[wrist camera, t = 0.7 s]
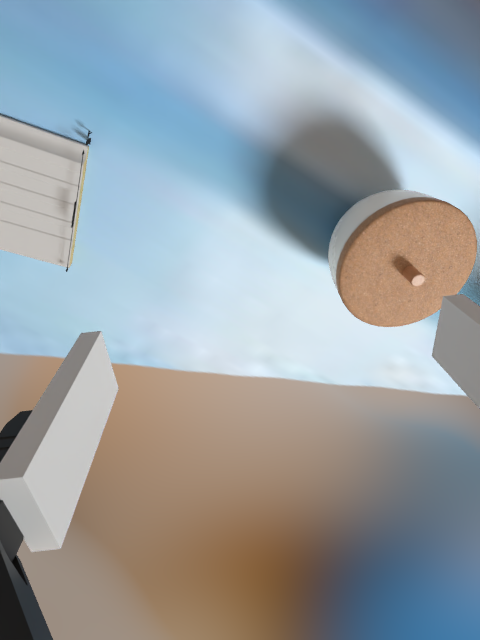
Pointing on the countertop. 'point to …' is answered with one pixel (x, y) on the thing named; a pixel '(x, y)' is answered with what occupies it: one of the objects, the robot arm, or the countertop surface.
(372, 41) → the countertop surface
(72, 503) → the robot arm
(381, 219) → the lidded jar
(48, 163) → the baseboard
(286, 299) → the countertop surface
